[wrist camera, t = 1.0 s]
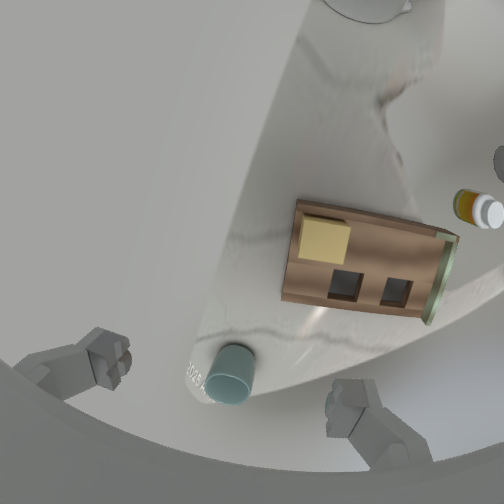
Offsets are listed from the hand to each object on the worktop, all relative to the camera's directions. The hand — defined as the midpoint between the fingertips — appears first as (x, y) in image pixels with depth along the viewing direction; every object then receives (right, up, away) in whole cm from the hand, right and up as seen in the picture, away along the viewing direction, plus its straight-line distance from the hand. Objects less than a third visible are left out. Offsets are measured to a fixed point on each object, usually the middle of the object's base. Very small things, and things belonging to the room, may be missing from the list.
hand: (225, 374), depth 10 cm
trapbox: (+20, +3, +32) cm, 38 cm away
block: (+11, +7, +30) cm, 32 cm away
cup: (-2, -15, +41) cm, 44 cm away
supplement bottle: (+37, +13, +27) cm, 47 cm away
